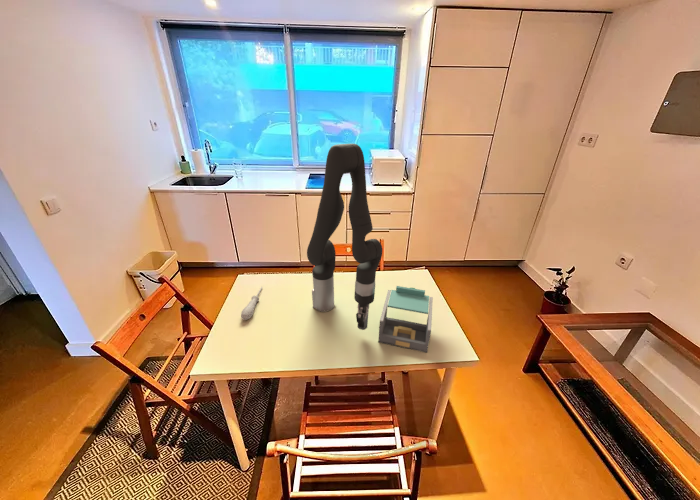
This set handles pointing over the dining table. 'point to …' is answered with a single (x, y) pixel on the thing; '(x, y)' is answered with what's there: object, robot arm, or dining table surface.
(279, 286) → the dining table surface
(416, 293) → the lid
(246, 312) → the screwdriver
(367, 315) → the pin
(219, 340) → the dining table surface
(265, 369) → the dining table surface
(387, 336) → the housing
